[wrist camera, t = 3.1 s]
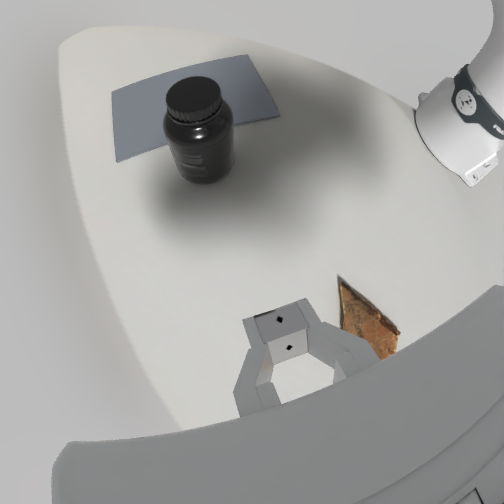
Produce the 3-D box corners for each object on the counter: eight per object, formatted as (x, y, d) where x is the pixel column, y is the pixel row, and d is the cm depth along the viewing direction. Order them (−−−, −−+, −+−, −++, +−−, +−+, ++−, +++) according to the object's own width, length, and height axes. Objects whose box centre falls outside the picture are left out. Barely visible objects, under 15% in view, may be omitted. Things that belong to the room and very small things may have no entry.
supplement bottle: (245, 163, 32) (250, 95, 20) (199, 197, 31) (180, 138, 19) (211, 128, 33) (202, 59, 21) (167, 158, 31) (139, 95, 20)
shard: (336, 282, 30) (342, 280, 28) (392, 278, 31) (400, 276, 29) (339, 375, 28) (344, 379, 26) (394, 364, 29) (402, 366, 27)
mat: (247, 56, 36) (247, 54, 35) (279, 116, 33) (279, 114, 33) (112, 93, 33) (111, 91, 33) (117, 162, 31) (116, 161, 31)
